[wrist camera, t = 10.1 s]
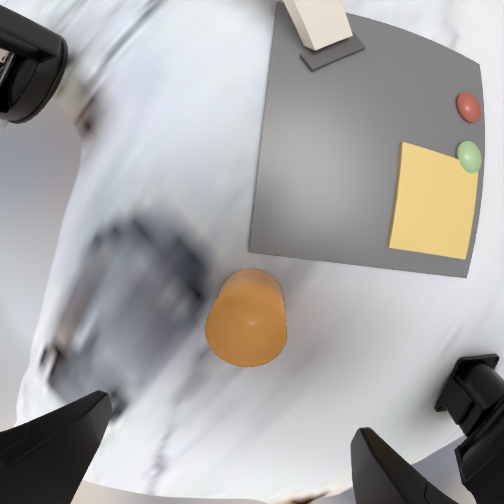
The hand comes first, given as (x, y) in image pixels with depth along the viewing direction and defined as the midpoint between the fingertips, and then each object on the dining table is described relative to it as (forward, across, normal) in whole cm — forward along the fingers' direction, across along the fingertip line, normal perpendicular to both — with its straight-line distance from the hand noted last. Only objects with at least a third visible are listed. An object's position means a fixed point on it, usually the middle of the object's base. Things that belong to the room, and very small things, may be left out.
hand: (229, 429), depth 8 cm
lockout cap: (+12, 0, 0) cm, 12 cm away
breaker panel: (+12, -8, -12) cm, 19 cm away
